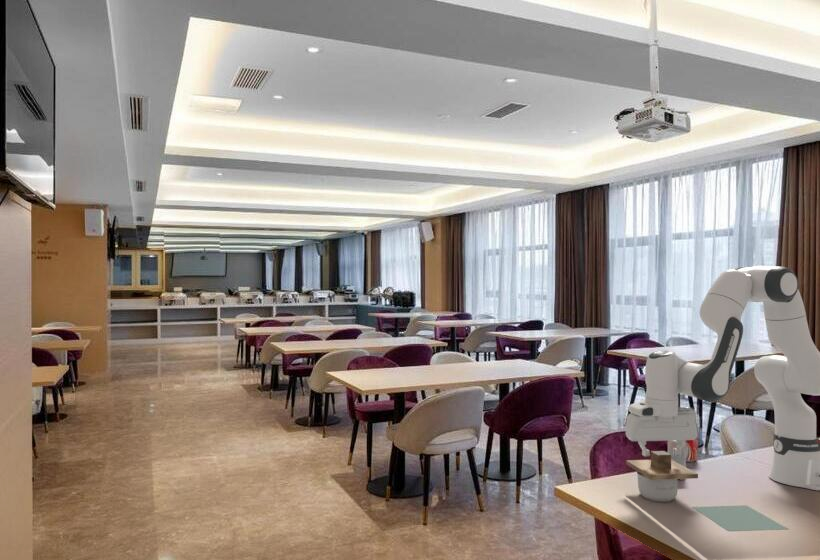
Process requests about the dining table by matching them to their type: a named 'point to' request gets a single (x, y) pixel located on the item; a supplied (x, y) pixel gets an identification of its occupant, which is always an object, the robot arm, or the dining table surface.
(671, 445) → the energy drink
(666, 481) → the teacup
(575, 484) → the dining table surface
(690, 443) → the soda can
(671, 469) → the cover
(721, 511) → the mat
